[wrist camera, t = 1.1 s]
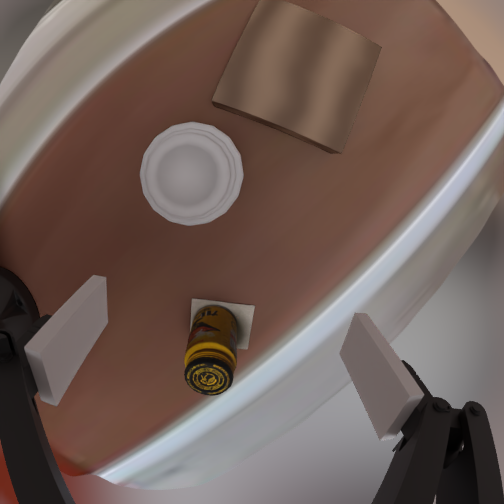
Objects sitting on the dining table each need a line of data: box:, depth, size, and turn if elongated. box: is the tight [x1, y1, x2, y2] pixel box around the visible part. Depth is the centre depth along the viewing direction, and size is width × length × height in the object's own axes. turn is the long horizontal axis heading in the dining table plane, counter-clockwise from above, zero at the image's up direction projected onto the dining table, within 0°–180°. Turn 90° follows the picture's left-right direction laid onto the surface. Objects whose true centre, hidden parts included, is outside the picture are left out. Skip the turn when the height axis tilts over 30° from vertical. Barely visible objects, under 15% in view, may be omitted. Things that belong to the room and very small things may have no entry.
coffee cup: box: [140, 122, 244, 226], centre depth 29 cm, size 9×9×12 cm
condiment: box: [184, 299, 255, 395], centre depth 35 cm, size 7×8×12 cm
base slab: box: [212, 0, 382, 154], centre depth 29 cm, size 15×15×4 cm
